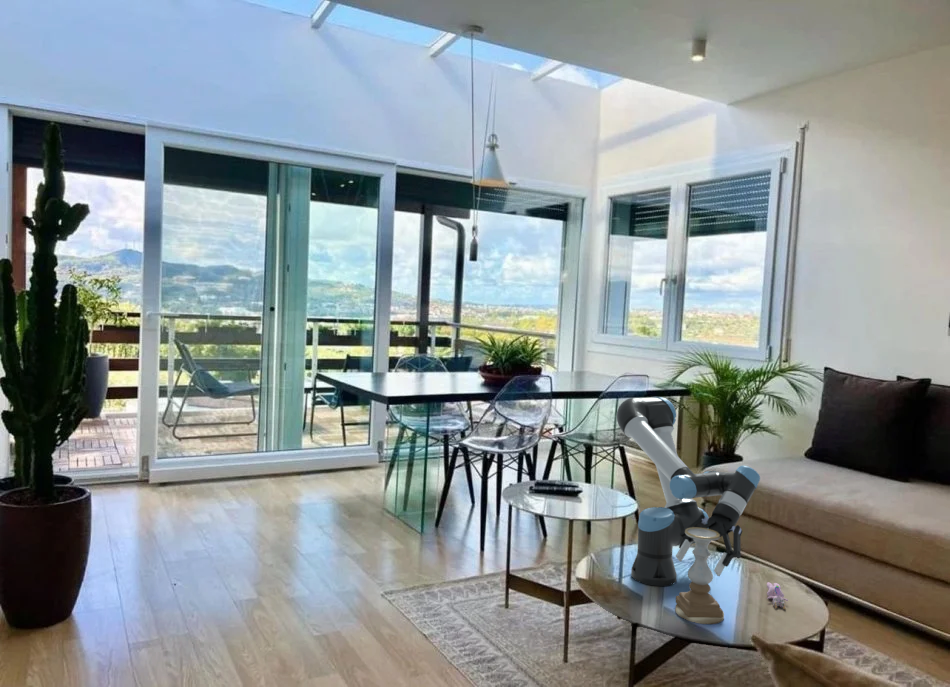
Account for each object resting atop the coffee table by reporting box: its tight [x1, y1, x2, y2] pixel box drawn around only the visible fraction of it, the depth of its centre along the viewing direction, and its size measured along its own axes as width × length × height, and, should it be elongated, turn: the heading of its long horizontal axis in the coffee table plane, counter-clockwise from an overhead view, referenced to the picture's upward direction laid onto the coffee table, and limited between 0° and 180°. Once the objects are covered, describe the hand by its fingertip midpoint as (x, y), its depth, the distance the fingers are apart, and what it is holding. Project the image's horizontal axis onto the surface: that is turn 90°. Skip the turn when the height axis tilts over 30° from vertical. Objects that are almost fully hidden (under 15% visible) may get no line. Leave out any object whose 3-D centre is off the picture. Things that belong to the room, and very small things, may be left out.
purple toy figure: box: [766, 581, 789, 610], centre depth 217 cm, size 6×6×15 cm
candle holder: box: [675, 527, 724, 617], centre depth 206 cm, size 11×11×24 cm
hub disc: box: [675, 603, 725, 625], centre depth 206 cm, size 14×14×1 cm
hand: (696, 566), depth 204 cm, fingers open, 13 cm apart
